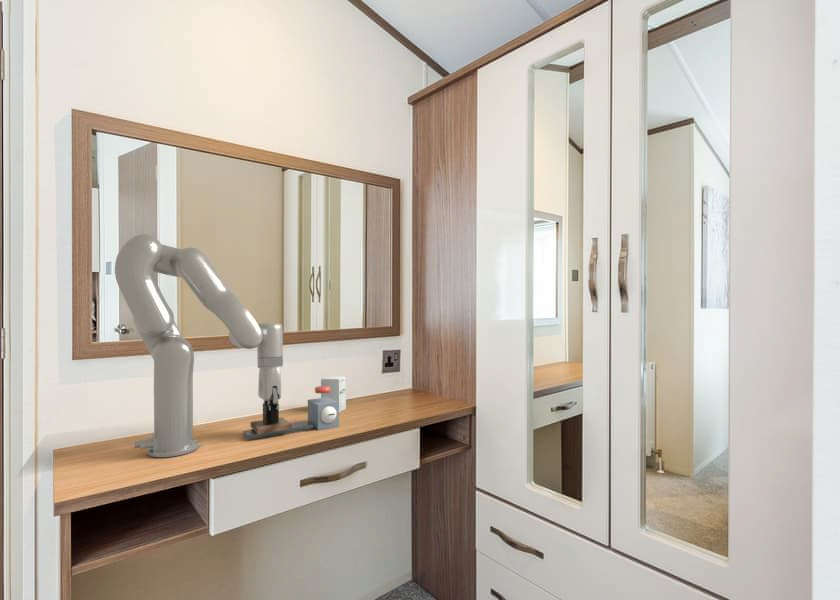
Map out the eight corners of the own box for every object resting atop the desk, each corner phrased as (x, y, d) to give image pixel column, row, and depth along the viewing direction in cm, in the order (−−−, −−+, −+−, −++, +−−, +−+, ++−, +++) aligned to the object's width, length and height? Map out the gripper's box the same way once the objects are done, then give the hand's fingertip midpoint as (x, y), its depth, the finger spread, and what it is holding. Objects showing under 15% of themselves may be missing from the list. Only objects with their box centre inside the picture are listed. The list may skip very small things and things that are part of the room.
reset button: (318, 394, 145) (318, 389, 145) (312, 391, 149) (312, 387, 149) (332, 392, 148) (332, 387, 148) (327, 389, 152) (327, 385, 152)
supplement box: (339, 413, 164) (339, 379, 164) (320, 412, 165) (320, 378, 166) (346, 409, 171) (346, 375, 171) (328, 408, 173) (328, 375, 173)
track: (247, 440, 133) (247, 435, 133) (243, 435, 138) (243, 430, 138) (313, 429, 143) (313, 424, 143) (306, 425, 148) (306, 420, 148)
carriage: (258, 434, 132) (257, 409, 132) (250, 426, 141) (250, 402, 141) (291, 428, 138) (291, 404, 138) (282, 421, 146) (282, 398, 146)
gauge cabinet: (318, 430, 142) (318, 405, 142) (307, 423, 151) (307, 399, 151) (339, 427, 146) (339, 402, 146) (327, 420, 154) (327, 397, 154)
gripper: (251, 360, 144) (252, 417, 144) (264, 366, 130) (265, 429, 130) (275, 358, 148) (276, 414, 148) (290, 364, 134) (290, 425, 134)
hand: (270, 420), depth 139 cm, fingers closed on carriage, 3 cm apart
